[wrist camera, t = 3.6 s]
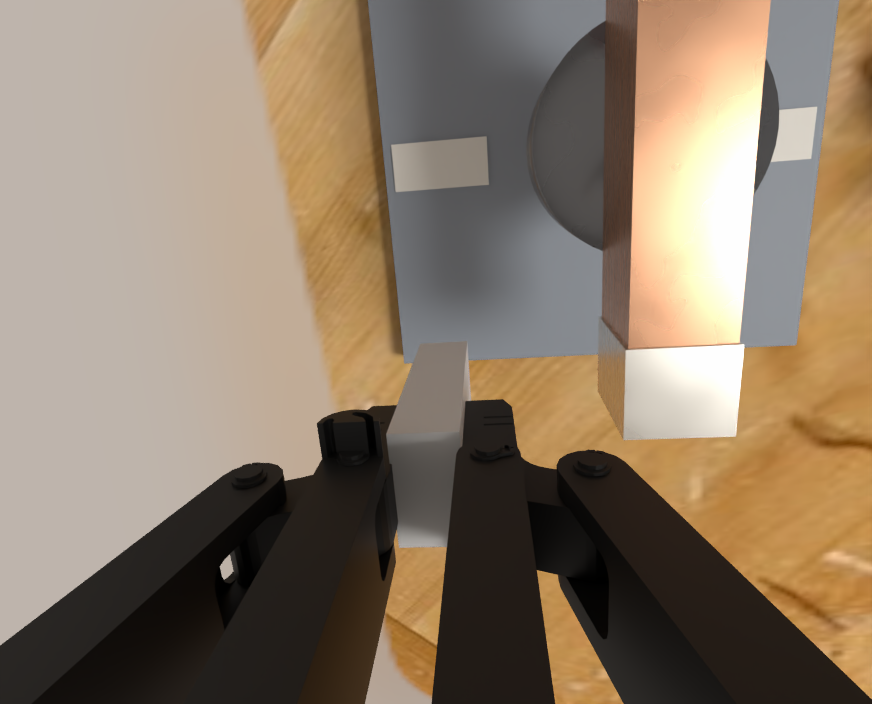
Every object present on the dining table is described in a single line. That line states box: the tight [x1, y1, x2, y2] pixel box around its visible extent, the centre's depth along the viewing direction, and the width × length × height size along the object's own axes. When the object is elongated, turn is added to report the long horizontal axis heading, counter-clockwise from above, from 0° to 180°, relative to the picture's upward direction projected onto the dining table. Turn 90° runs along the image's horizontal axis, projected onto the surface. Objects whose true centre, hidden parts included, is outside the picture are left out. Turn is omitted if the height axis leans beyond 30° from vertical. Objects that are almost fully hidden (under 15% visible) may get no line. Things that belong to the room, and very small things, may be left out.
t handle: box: [526, 0, 779, 440], centre depth 18 cm, size 18×8×7 cm, turn 4°
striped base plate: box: [368, 0, 839, 363], centre depth 26 cm, size 22×22×8 cm
